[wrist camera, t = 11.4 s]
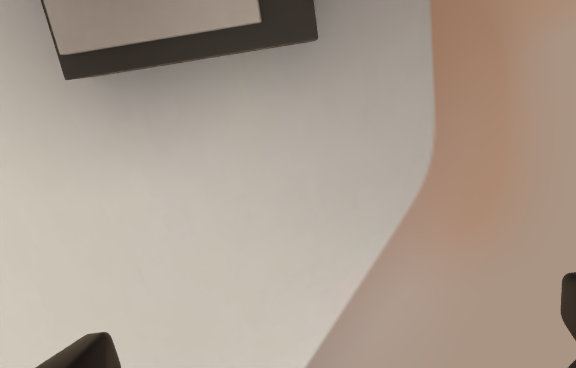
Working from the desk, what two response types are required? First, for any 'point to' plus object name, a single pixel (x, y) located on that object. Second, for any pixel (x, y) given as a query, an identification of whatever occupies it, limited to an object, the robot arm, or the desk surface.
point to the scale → (169, 31)
